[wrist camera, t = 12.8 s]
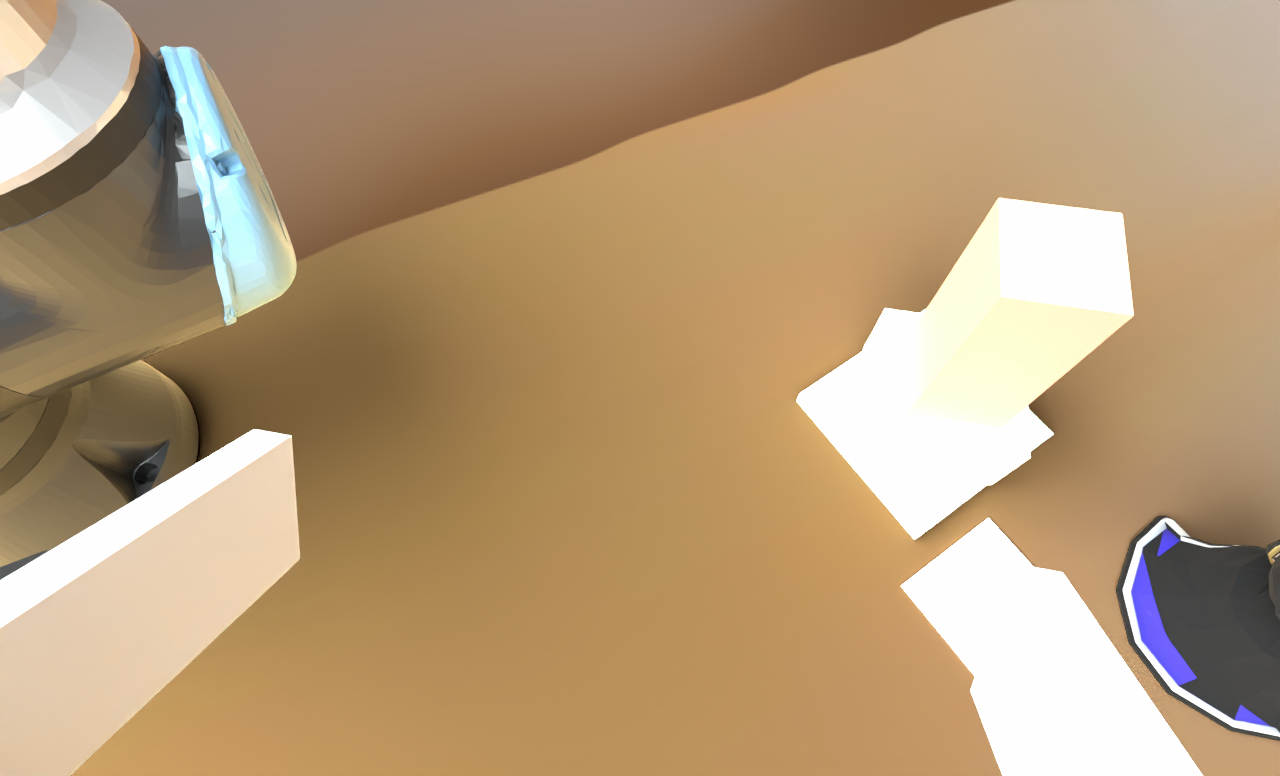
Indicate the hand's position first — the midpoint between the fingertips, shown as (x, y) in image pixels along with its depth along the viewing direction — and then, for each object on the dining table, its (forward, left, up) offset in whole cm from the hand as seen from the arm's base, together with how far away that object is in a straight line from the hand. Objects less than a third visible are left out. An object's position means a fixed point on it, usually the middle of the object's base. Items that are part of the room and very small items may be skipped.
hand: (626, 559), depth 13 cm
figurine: (+16, +26, -30) cm, 43 cm away
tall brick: (-2, +22, -23) cm, 32 cm away
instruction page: (+9, +18, -30) cm, 36 cm away
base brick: (-2, +22, -28) cm, 36 cm away
